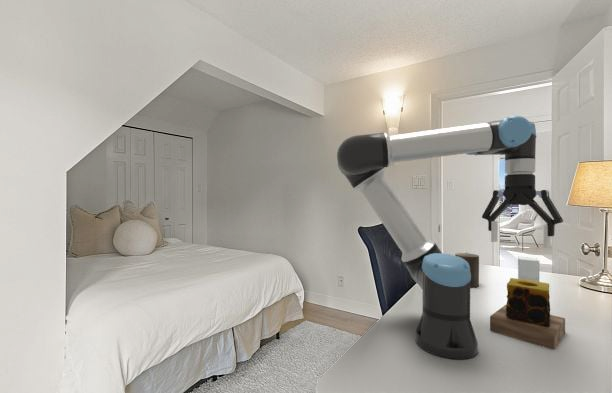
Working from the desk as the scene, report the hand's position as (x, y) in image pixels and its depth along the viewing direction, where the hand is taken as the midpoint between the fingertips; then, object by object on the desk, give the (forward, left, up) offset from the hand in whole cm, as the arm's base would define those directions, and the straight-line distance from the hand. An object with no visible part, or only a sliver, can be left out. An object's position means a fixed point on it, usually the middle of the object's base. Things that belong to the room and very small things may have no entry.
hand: (518, 244), depth 91 cm
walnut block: (0, -2, -26) cm, 26 cm away
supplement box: (+54, +13, -26) cm, 61 cm away
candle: (0, -3, -21) cm, 22 cm away
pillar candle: (+35, +31, -26) cm, 53 cm away
